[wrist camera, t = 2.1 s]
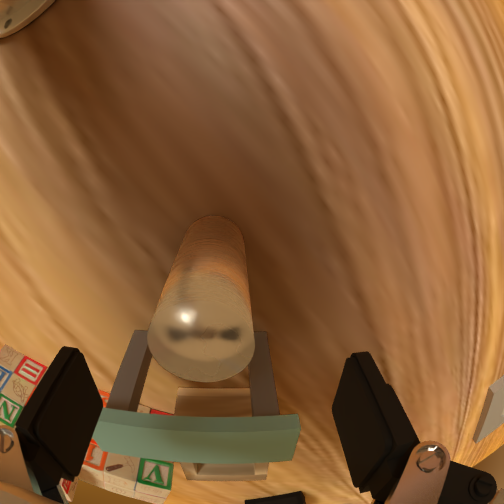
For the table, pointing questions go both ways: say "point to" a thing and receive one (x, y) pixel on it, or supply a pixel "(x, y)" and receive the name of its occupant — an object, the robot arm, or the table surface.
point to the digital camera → (280, 499)
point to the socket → (218, 405)
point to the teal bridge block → (196, 419)
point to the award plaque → (491, 411)
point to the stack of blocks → (96, 461)
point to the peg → (205, 306)
